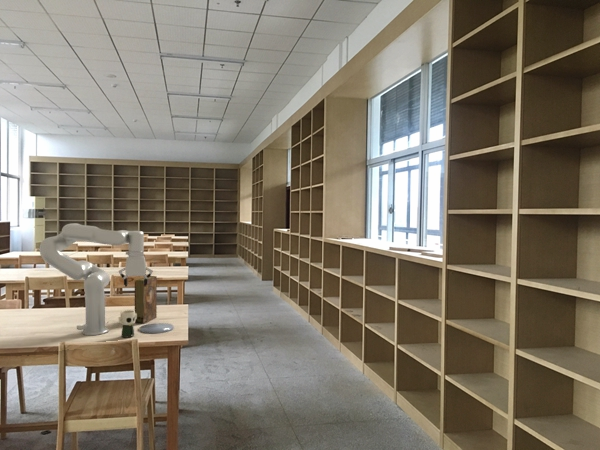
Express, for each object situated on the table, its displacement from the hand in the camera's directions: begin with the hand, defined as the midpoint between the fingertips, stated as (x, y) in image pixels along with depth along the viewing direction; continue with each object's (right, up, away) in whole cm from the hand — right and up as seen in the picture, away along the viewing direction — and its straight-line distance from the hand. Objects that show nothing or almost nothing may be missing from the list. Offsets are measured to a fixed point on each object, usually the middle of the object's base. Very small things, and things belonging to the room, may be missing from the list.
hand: (135, 286), depth 252 cm
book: (-3, -24, +26) cm, 35 cm away
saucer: (+9, -24, +8) cm, 27 cm away
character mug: (-1, -25, -8) cm, 26 cm away
